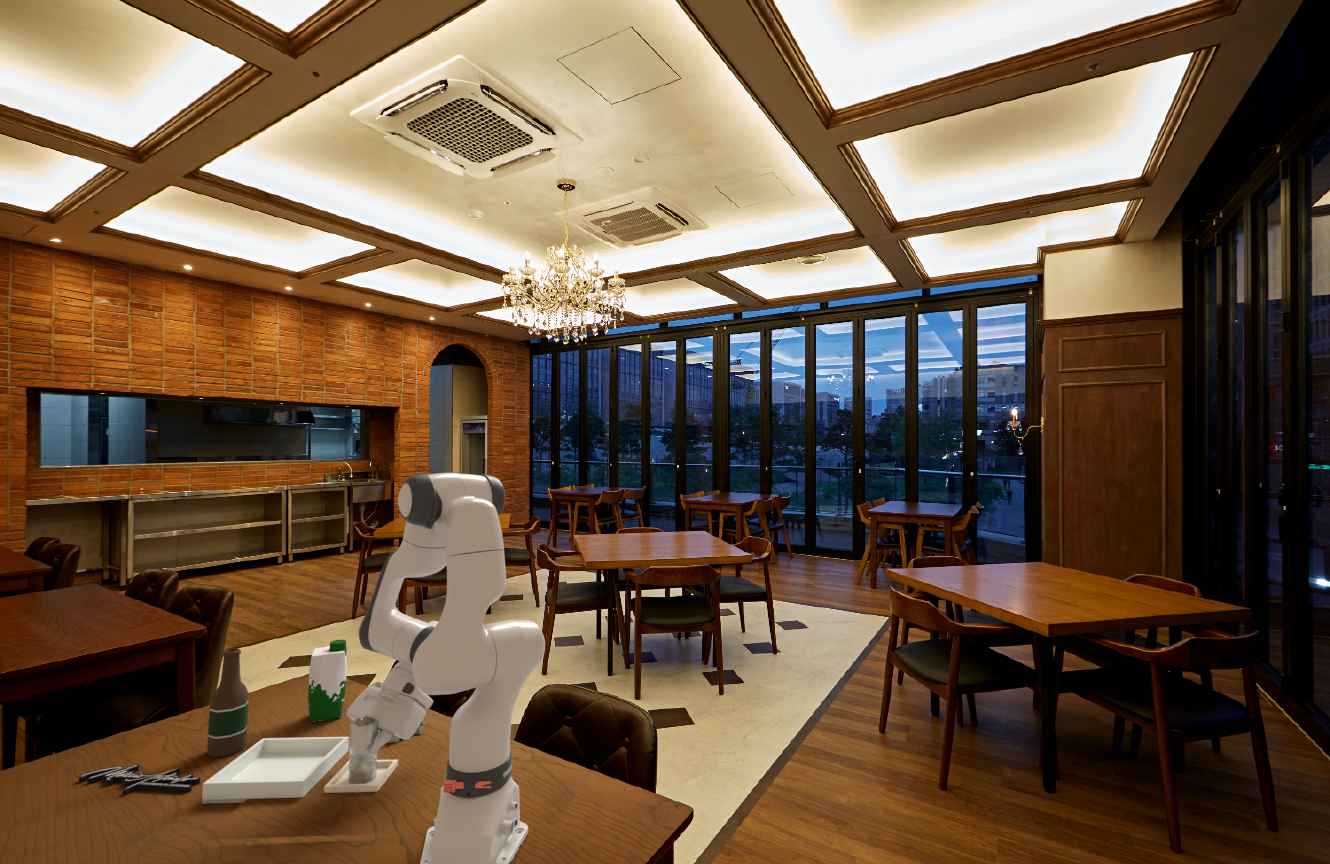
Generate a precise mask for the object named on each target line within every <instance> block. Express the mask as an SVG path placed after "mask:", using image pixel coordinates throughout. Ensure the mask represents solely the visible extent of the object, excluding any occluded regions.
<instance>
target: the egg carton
mask: <svg viewBox="0 0 1330 864" xmlns="http://www.w3.org/2000/svg"><path fill="white" fill-rule="evenodd" d="M426 723H427V720H426V721H424V720H422V722H421V724H420V725H419V727H418V728H417V730H416V732H415V733H414V734H418V735H417V736H420V735H422V734H423V731H424V727H425V724H426ZM422 730H423V731H422ZM381 732H382V731H380V730H378V738H379V737H380V736H381V735H380V734H381ZM421 733H422V734H421ZM414 734H413V736H415V735H414ZM419 734H420V735H419ZM400 739H401V738H399V737H396V736H392V738H391V739H390V741H388V742H387V743H388V744H391V743H398V742H400ZM387 743H386V744H387Z"/></svg>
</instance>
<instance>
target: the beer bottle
mask: <svg viewBox="0 0 1330 864" xmlns="http://www.w3.org/2000/svg"><path fill="white" fill-rule="evenodd" d="M241 653H242V650H241V649H239V648H236V647H235V648H230V649H229V648H228V649H226V650H224V651H223V653H222V655H221V656H222V657H223V660H222V668H221V675H220V681H219V682H220V683H219V685H218V687H217V688H216V689H215V691H214V693H213V695H212V697H211V699H210V702H209V711H208V729H207V756H210V757H213V758H215V759H216V758H223V757H229V756H233V755H235V754H237V753H239V752H241V751H243V750H244V748H245V746H246V744H247V739H248V738H247V737H248V722H249V720H248V719H249V699H250V698H249V690H248V688H247V687H246V685H245V684H244V683H243V682H242V678H241V677H242V676H241V664H240V663H241V662H240V661H241V659H240V658H241Z"/></svg>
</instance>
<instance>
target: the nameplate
mask: <svg viewBox="0 0 1330 864" xmlns="http://www.w3.org/2000/svg"><path fill="white" fill-rule="evenodd" d="M139 771H140V764H139V763H138V764H132V765H128V766H123V765H121V766H113V767H107V768H102V769H98V770H93V771H91V772H87V773H84V774H81V775H79V777H78V783H79V784H83V783H85V782H86V784H87V785H91V784H95V783H98V782H103V783H104V786H105V787H111V786H113V783H114V784H117V783H121V784H122V787H124V788H123V789H122V796H123V797H125V796H127V795H129V794H131V793H133V792H136V791H142V792H143V791H144V792H158V793H172V794H173V793H175V794H188V793H189V794H190V792H192V786H196V785H200V784H201V777H200V776H199V777H194V774H193V773H191V774H187V775H185V776H182V777H181V776H180V775H179V774H181V772H180V771H181V767H175V768H172V769H169V770H166V771H162V772H159V773H155V774H147V773H145V772H140V773H137V772H139Z"/></svg>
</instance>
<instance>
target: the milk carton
mask: <svg viewBox="0 0 1330 864" xmlns="http://www.w3.org/2000/svg"><path fill="white" fill-rule="evenodd" d="M347 647H348V646H347V640H346V639H335V640H332V641H330V642H329V646H328V645H327V646H324V647H315V648H314V649H313V652H312V654H311V658H310V663H309V665H310V666H309V672H308V690H307V691H308V695H307V705H308V714H309V722H313V721H319V720H327V721H331V720H330V719H334V720H336V719H335V718H340V719H341V715H342V712H343V707H344V704H345V699H346V691H347V669H348V667H347V666H348V665H347V664H348V662H347V660H348V659H347V656H348V655H347V650H348V649H347Z"/></svg>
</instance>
